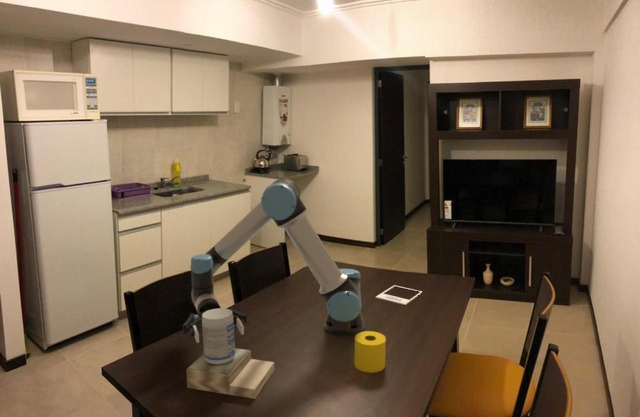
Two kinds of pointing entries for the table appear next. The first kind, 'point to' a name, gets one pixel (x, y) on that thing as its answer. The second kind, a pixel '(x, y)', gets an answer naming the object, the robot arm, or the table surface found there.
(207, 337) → the supplement tub
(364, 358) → the yellow hollow cylinder
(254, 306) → the table surface
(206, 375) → the birch riser
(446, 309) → the table surface
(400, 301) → the photo frame
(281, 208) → the robot arm
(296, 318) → the table surface
